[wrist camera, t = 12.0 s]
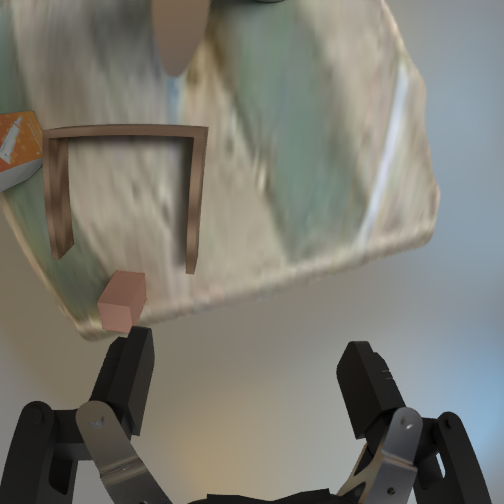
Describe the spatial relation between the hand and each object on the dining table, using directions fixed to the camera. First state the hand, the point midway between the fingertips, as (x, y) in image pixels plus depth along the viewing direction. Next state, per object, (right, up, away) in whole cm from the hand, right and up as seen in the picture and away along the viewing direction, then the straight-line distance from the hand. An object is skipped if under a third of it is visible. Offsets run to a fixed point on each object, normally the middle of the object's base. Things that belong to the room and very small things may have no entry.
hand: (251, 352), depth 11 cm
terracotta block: (-18, -1, +30) cm, 35 cm away
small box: (-31, +19, +19) cm, 41 cm away
